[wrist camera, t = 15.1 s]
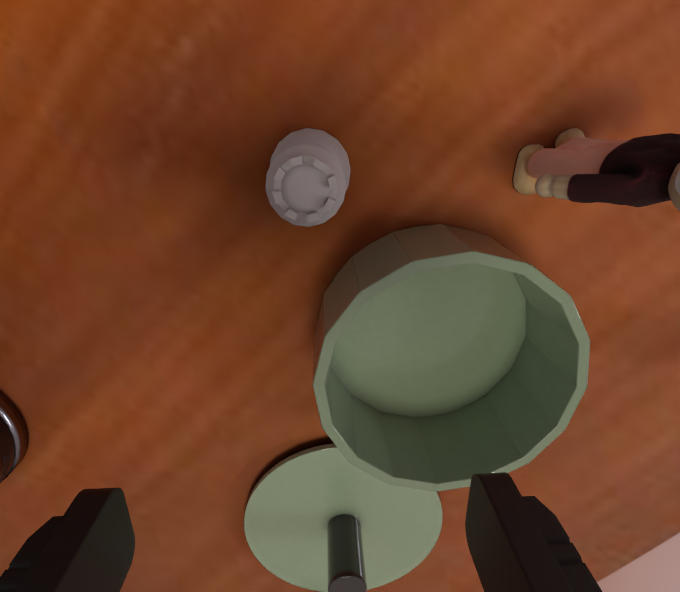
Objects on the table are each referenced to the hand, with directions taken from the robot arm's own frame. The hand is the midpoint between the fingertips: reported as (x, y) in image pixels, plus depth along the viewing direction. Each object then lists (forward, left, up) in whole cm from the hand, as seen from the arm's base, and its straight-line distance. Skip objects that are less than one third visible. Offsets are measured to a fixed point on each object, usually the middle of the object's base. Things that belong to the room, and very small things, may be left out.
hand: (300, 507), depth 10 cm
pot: (+8, +1, -17) cm, 19 cm away
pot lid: (+13, -15, -17) cm, 26 cm away
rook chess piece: (-4, +5, -18) cm, 19 cm away
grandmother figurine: (+8, +14, -18) cm, 23 cm away
